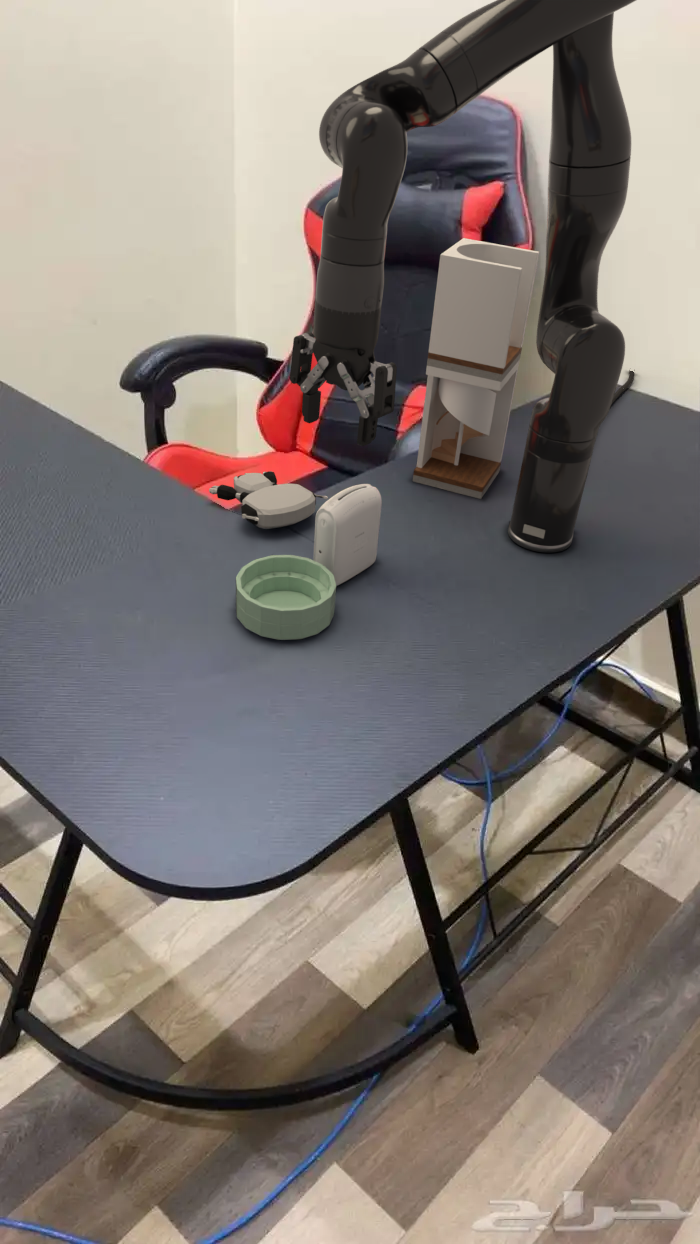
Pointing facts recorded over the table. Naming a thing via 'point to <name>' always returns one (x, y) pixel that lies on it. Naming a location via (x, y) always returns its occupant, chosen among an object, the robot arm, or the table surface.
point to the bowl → (285, 597)
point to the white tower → (473, 363)
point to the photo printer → (348, 531)
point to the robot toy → (269, 500)
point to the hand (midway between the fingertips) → (337, 432)
